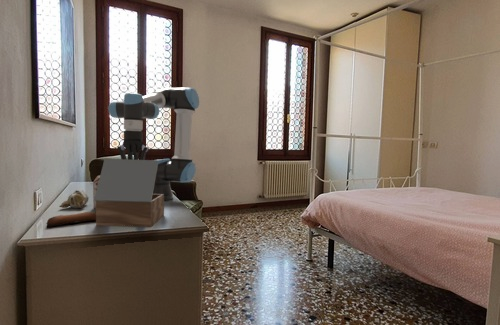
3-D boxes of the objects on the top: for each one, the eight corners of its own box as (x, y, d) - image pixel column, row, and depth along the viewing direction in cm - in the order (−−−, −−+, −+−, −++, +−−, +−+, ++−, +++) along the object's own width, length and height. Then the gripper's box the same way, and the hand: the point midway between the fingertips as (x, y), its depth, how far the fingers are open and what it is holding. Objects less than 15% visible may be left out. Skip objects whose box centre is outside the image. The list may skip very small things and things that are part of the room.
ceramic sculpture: (93, 187, 157) (80, 194, 143) (94, 203, 159) (81, 212, 144) (71, 187, 156) (56, 194, 141) (72, 203, 157) (58, 212, 143)
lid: (105, 160, 128) (104, 158, 126) (158, 161, 127) (157, 160, 126) (95, 200, 120) (94, 199, 119) (151, 202, 120) (150, 201, 119)
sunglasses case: (93, 216, 133) (95, 205, 130) (96, 228, 129) (98, 216, 126) (44, 223, 122) (45, 210, 119) (46, 235, 117) (46, 223, 114)
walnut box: (116, 214, 139) (116, 192, 138) (164, 215, 139) (164, 194, 138) (96, 225, 121) (95, 200, 120) (150, 227, 121) (150, 202, 120)
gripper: (113, 129, 124) (113, 186, 126) (145, 130, 124) (144, 187, 126) (121, 130, 132) (121, 183, 133) (151, 131, 132) (151, 184, 133)
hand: (132, 185), depth 130 cm, fingers closed
